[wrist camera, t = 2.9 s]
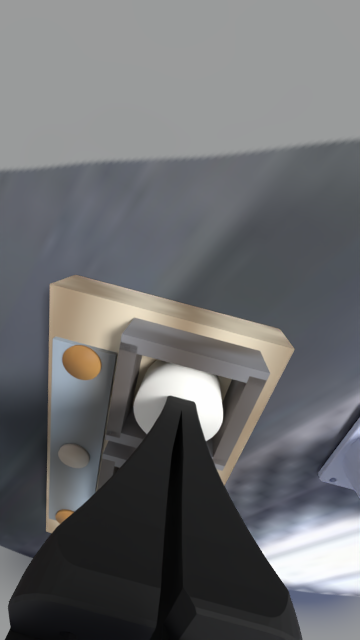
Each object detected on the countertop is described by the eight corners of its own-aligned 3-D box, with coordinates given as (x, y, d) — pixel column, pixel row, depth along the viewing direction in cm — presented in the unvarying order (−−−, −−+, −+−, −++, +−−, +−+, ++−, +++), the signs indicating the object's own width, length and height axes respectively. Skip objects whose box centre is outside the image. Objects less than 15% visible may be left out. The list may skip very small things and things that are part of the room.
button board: (279, 329, 14) (311, 371, 10) (184, 533, 23) (179, 600, 19) (75, 274, 14) (20, 294, 10) (61, 501, 23) (30, 560, 19)
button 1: (231, 366, 12) (235, 391, 10) (207, 424, 14) (208, 455, 12) (151, 345, 12) (141, 366, 10) (137, 406, 14) (127, 433, 12)
